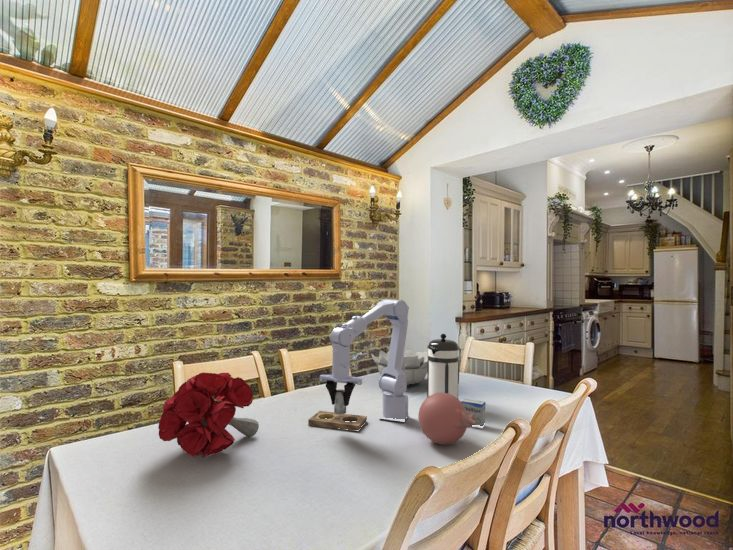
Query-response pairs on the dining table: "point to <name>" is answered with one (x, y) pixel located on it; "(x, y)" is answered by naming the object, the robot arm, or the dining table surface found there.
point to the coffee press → (443, 367)
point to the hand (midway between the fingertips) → (340, 404)
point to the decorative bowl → (407, 365)
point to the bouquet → (206, 413)
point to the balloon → (444, 418)
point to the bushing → (339, 402)
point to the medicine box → (475, 410)
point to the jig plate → (337, 420)
